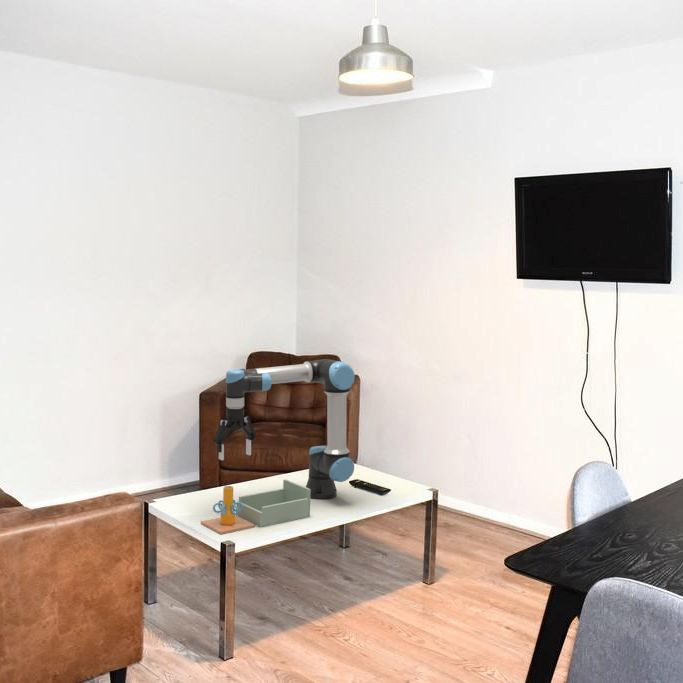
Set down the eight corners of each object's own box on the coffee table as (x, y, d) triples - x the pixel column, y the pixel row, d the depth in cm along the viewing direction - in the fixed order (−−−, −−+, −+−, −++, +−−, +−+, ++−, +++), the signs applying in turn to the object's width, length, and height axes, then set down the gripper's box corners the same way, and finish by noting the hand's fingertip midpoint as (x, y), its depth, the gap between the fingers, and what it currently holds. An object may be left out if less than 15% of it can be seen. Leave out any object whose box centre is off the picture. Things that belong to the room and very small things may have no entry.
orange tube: (214, 527, 328) (214, 491, 327) (211, 519, 338) (212, 484, 337) (244, 526, 331) (245, 490, 330) (240, 518, 341) (241, 483, 340)
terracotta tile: (234, 517, 346) (234, 514, 346) (254, 527, 334) (254, 524, 334) (200, 523, 336) (200, 521, 336) (220, 534, 324) (220, 532, 324)
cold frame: (284, 505, 364) (285, 479, 363) (309, 516, 350) (310, 489, 349) (236, 515, 348) (236, 488, 347) (260, 527, 334) (260, 498, 333)
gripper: (254, 402, 351) (254, 450, 354) (204, 409, 335) (204, 459, 338) (264, 405, 346) (264, 454, 348) (214, 412, 330) (214, 463, 332)
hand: (235, 457), depth 343 cm, fingers open, 13 cm apart
